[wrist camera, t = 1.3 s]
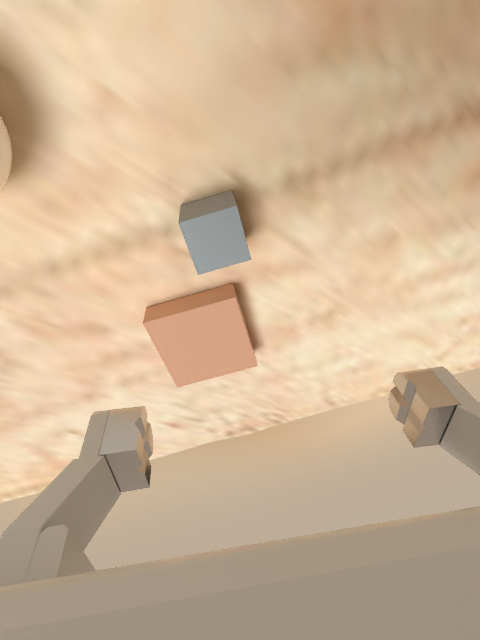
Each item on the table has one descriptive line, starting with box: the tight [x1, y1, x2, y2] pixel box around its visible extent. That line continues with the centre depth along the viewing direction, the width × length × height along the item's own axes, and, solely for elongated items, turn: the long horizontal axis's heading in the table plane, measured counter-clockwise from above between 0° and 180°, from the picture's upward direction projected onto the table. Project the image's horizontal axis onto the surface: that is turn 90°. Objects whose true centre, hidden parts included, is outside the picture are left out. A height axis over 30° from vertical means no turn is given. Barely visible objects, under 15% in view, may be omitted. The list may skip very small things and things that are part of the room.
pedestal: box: [143, 283, 257, 387], centre depth 40 cm, size 10×10×3 cm
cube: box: [179, 190, 251, 275], centre depth 32 cm, size 5×5×5 cm
